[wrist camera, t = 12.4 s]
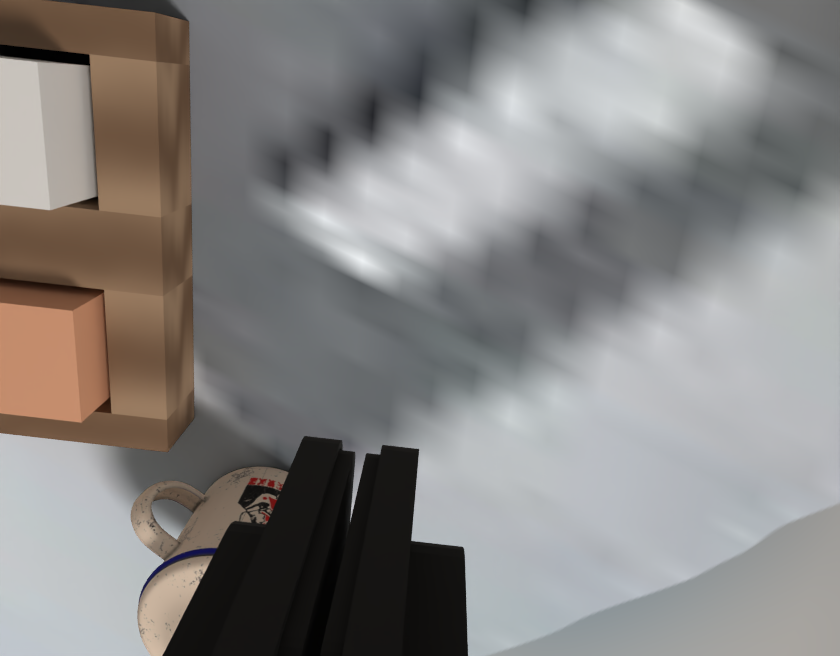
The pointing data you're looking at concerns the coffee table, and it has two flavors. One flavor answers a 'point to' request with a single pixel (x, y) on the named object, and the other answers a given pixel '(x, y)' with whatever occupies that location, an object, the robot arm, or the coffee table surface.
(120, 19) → the brown slotted base
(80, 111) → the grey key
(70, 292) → the salmon orange block
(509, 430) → the coffee table surface
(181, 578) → the teacup with lid
